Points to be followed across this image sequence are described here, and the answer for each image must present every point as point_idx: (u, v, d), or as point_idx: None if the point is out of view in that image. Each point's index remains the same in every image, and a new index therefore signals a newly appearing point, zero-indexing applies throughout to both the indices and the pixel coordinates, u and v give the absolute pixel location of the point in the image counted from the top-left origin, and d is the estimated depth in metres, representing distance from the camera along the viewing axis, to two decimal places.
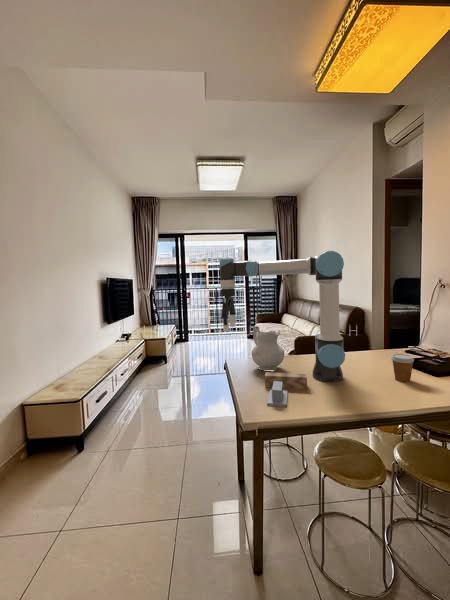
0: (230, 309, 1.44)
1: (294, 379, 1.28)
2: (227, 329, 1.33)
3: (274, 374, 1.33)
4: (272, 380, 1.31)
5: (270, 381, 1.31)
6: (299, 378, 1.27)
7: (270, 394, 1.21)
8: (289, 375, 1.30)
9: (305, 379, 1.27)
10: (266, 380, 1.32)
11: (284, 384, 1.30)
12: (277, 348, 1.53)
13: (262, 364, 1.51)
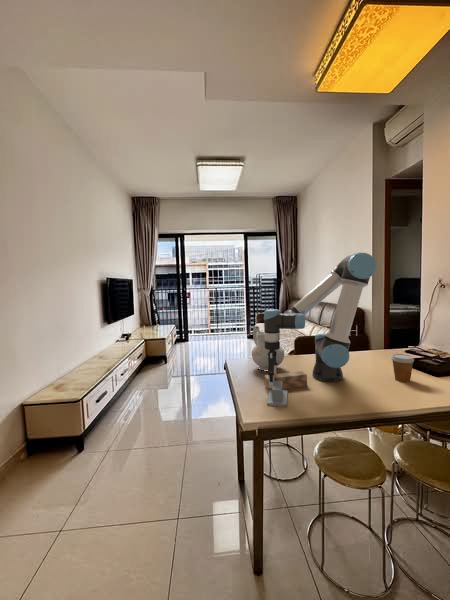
0: None
1: (296, 378, 1.30)
2: None
3: (275, 376, 1.30)
4: None
5: None
6: (300, 376, 1.30)
7: (270, 394, 1.21)
8: (289, 374, 1.31)
9: (305, 376, 1.31)
10: None
11: (286, 385, 1.29)
12: None
13: (262, 364, 1.51)
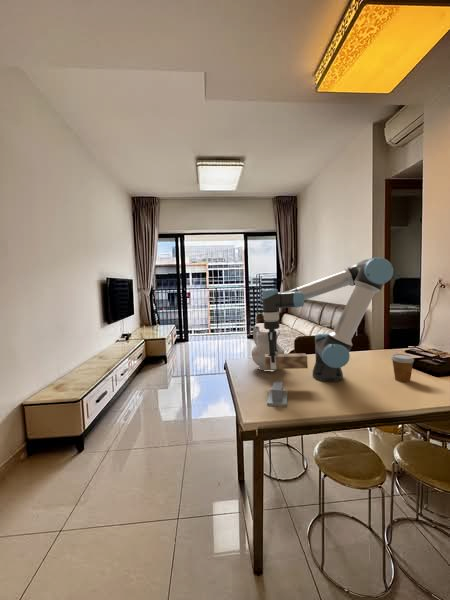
0: None
1: (295, 359, 1.29)
2: (275, 366, 1.29)
3: None
4: None
5: None
6: (299, 357, 1.29)
7: (270, 394, 1.21)
8: (289, 355, 1.31)
9: (305, 358, 1.28)
10: (267, 361, 1.30)
11: (284, 365, 1.30)
12: (277, 348, 1.53)
13: (262, 364, 1.51)
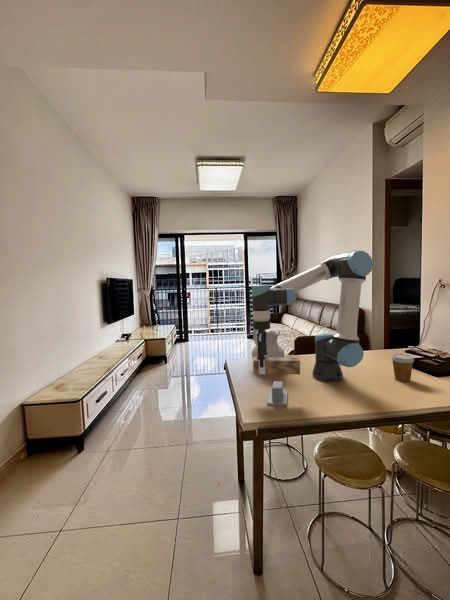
0: None
1: (286, 363, 1.15)
2: (263, 372, 1.15)
3: None
4: None
5: None
6: (291, 362, 1.15)
7: (270, 394, 1.21)
8: (280, 359, 1.17)
9: (298, 362, 1.15)
10: (255, 365, 1.17)
11: (274, 370, 1.16)
12: (277, 348, 1.53)
13: None
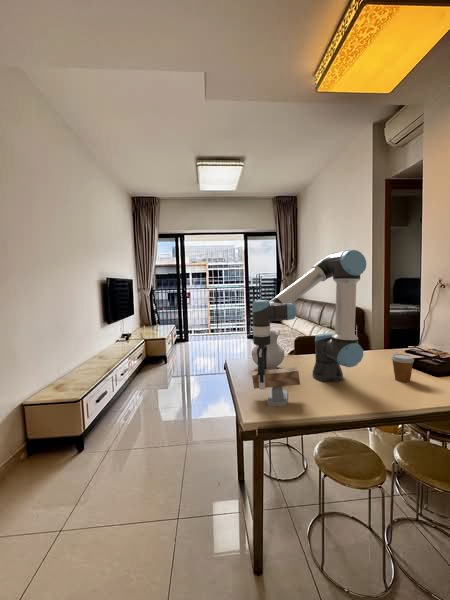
0: None
1: (285, 375, 1.15)
2: (263, 387, 1.16)
3: None
4: None
5: None
6: (290, 373, 1.15)
7: (270, 394, 1.21)
8: (279, 371, 1.17)
9: (297, 373, 1.15)
10: (254, 380, 1.17)
11: (274, 382, 1.16)
12: (277, 348, 1.53)
13: None
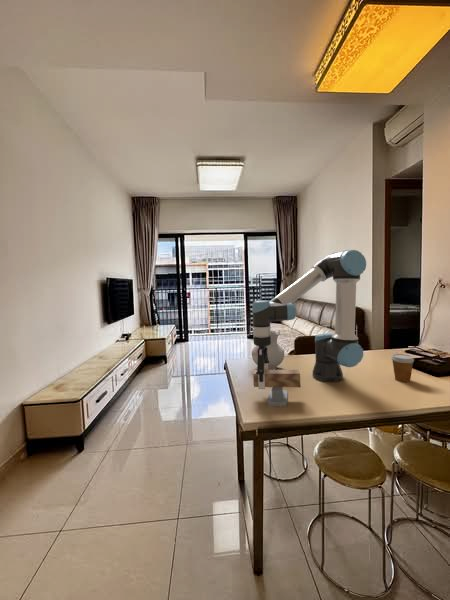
0: None
1: (286, 376, 1.15)
2: (263, 386, 1.12)
3: None
4: None
5: None
6: (291, 375, 1.15)
7: (270, 394, 1.21)
8: (280, 372, 1.17)
9: (298, 375, 1.15)
10: (255, 378, 1.17)
11: (274, 382, 1.16)
12: (277, 348, 1.53)
13: None
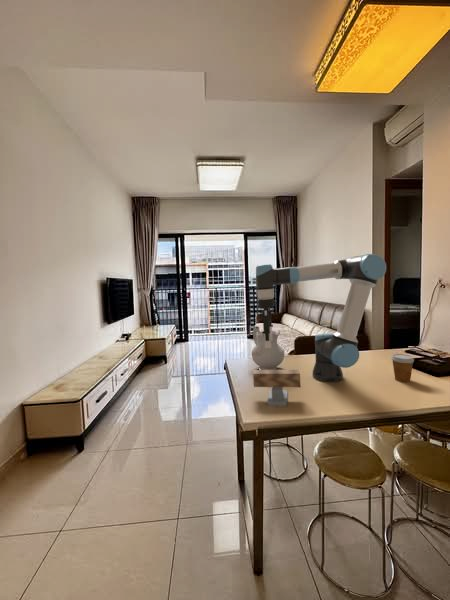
0: None
1: (286, 376, 1.15)
2: (269, 345, 1.17)
3: (263, 371, 1.19)
4: (262, 378, 1.17)
5: (260, 380, 1.17)
6: (291, 375, 1.15)
7: (270, 394, 1.21)
8: (280, 372, 1.17)
9: (298, 375, 1.15)
10: (255, 378, 1.17)
11: (274, 382, 1.16)
12: (277, 348, 1.53)
13: (262, 364, 1.51)
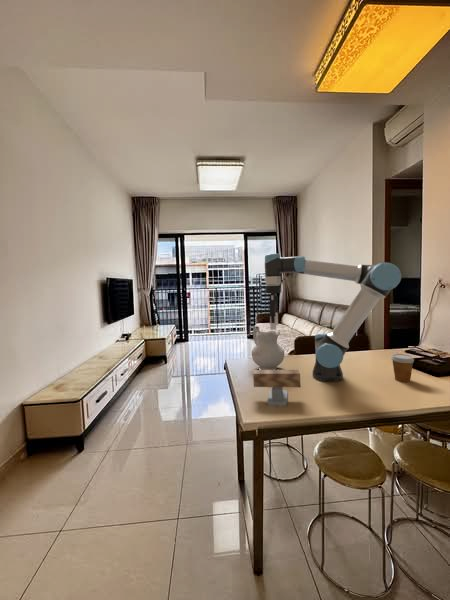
0: None
1: (286, 376, 1.15)
2: (274, 327, 1.28)
3: (263, 371, 1.19)
4: (262, 378, 1.17)
5: (260, 380, 1.17)
6: (291, 375, 1.15)
7: (270, 394, 1.21)
8: (280, 372, 1.17)
9: (298, 375, 1.15)
10: (255, 378, 1.17)
11: (274, 382, 1.16)
12: (277, 348, 1.53)
13: (262, 364, 1.51)
